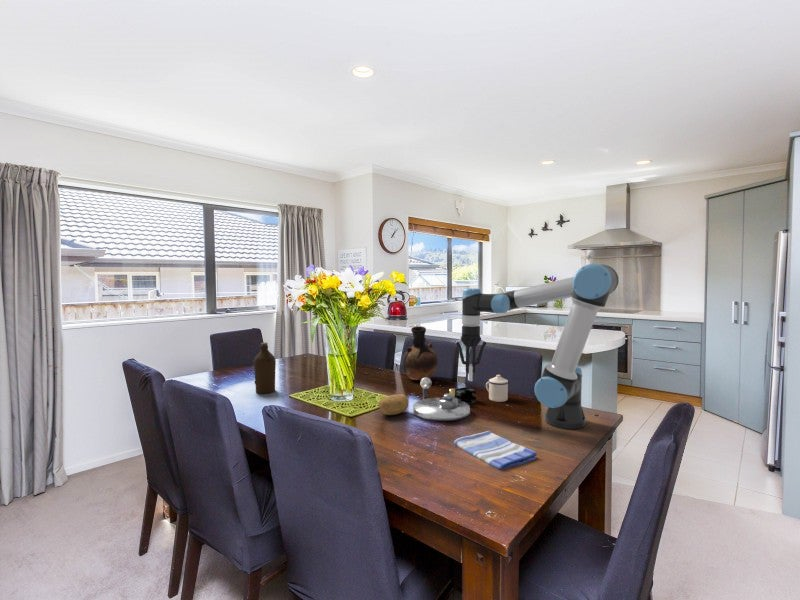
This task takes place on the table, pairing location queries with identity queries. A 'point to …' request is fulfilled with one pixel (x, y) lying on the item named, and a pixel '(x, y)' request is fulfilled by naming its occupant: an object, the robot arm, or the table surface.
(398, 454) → the table surface
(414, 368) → the ceramic vessel
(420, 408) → the turntable
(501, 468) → the dish towel
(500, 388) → the teacup with lid
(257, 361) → the olive oil
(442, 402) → the cover
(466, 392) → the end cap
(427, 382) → the dial stand
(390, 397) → the potato
